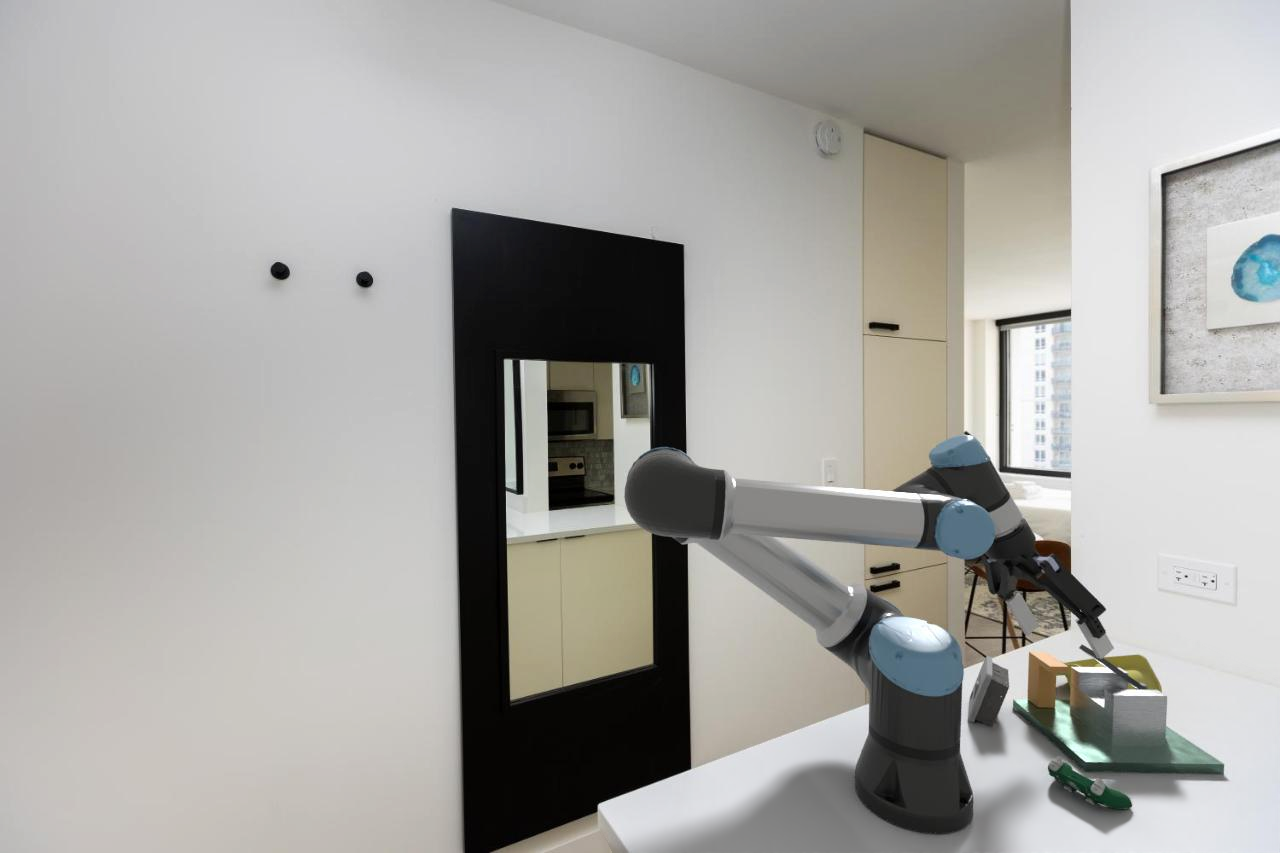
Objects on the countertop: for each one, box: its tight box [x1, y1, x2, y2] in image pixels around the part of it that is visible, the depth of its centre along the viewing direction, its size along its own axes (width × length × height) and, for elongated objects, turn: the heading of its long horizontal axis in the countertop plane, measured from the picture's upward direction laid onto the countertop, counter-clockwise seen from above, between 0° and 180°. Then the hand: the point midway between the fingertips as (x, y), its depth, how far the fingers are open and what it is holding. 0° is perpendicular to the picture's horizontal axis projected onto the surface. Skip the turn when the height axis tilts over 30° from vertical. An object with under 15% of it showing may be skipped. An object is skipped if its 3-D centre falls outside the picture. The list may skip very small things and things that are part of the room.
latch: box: [1026, 651, 1068, 708], centre depth 108 cm, size 3×6×9 cm, turn 178°
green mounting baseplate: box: [1012, 667, 1225, 775], centre depth 102 cm, size 20×19×10 cm
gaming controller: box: [1047, 756, 1133, 810], centre depth 88 cm, size 9×4×6 cm
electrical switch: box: [967, 655, 1010, 727], centre depth 109 cm, size 9×5×9 cm, turn 151°
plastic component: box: [1056, 653, 1163, 693], centre depth 118 cm, size 20×7×10 cm
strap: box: [1078, 644, 1148, 690], centre depth 101 cm, size 14×3×1 cm
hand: (1066, 640), depth 99 cm, fingers open, 13 cm apart
